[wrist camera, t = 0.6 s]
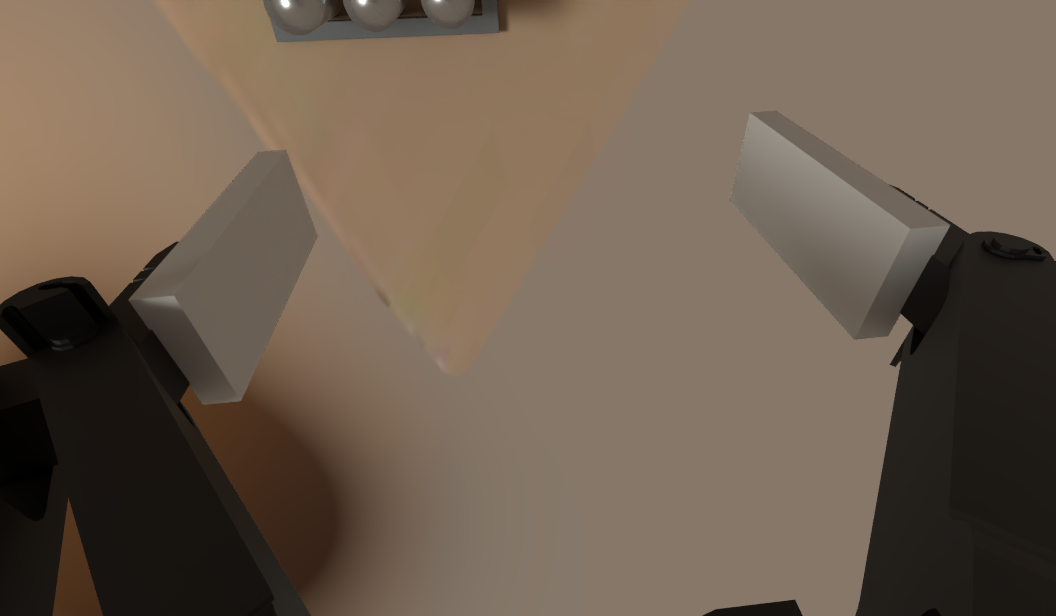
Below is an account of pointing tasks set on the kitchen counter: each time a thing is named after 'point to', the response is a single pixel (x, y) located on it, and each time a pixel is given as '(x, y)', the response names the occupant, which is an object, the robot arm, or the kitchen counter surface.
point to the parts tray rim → (398, 27)
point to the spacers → (362, 13)
